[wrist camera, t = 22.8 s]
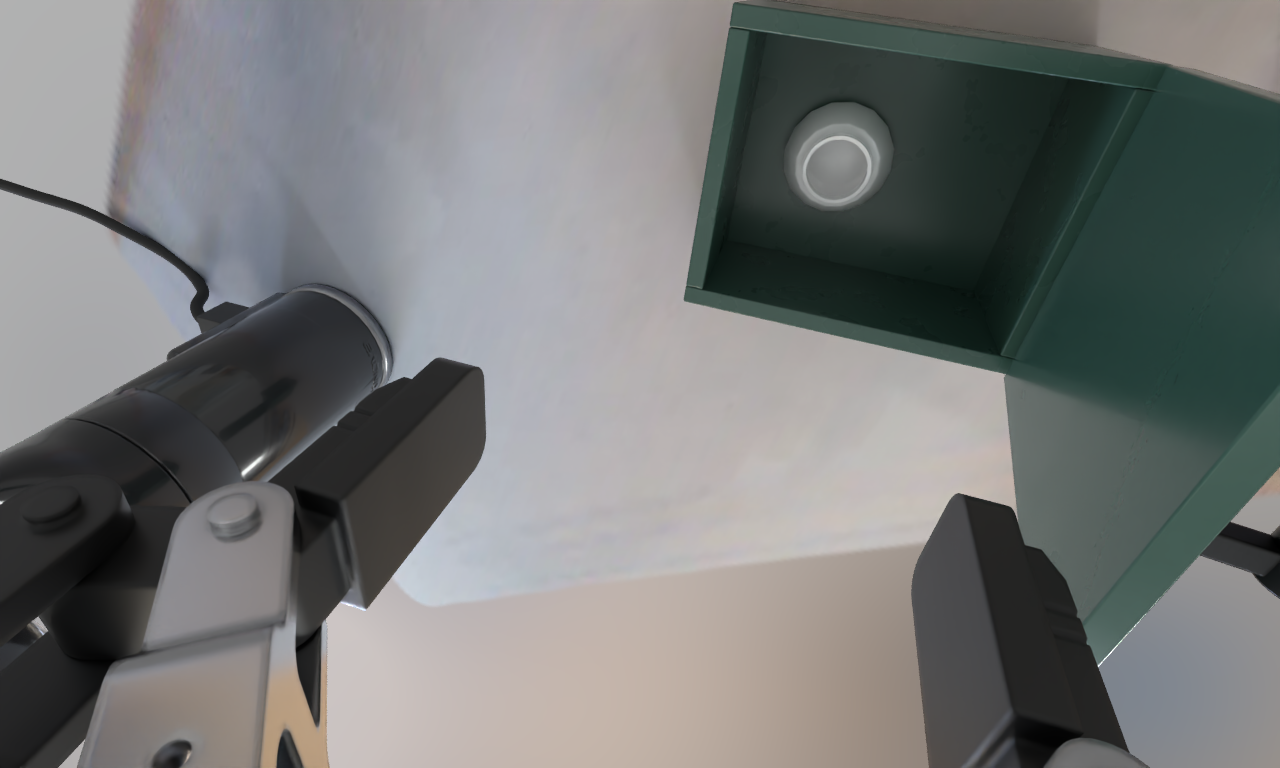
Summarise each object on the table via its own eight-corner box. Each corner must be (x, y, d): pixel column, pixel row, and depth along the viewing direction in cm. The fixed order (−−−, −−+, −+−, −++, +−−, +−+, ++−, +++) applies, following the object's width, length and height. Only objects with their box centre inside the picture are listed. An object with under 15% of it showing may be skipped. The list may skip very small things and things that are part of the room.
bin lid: (1032, 684, 15) (1275, 784, 13) (1467, 160, 8) (2042, 255, 7) (1003, 378, 27) (1130, 415, 25) (1168, 64, 20) (1351, 92, 19)
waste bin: (712, 245, 36) (683, 301, 30) (758, -2, 29) (733, 1, 23) (980, 301, 33) (1011, 376, 27) (1098, 46, 27) (1176, 65, 20)
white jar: (845, 76, 29) (764, 156, 32) (845, 84, 27) (757, 170, 29) (914, 155, 30) (830, 226, 33) (920, 170, 28) (829, 245, 30)
